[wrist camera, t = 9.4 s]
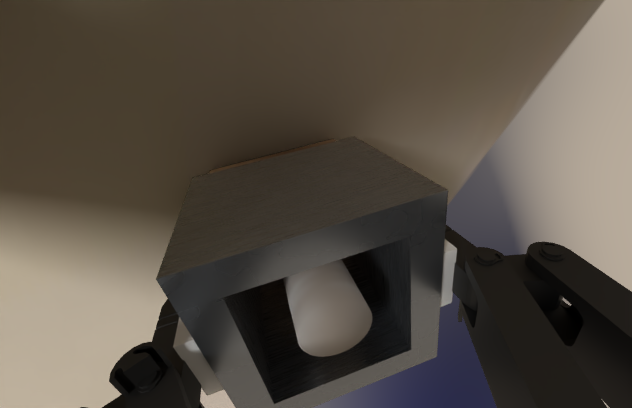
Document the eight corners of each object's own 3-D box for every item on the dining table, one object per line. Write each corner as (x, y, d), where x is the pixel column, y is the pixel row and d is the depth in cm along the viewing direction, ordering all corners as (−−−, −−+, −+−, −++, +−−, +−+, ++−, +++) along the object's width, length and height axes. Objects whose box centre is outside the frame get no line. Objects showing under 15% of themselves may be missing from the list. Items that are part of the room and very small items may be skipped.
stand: (248, 268, 18) (260, 421, 10) (209, 170, 15) (185, 288, 7) (347, 237, 19) (427, 354, 11) (333, 138, 16) (433, 209, 8)
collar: (244, 298, 16) (250, 432, 10) (192, 177, 13) (155, 279, 7) (366, 257, 18) (436, 356, 12) (353, 136, 14) (448, 189, 8)
